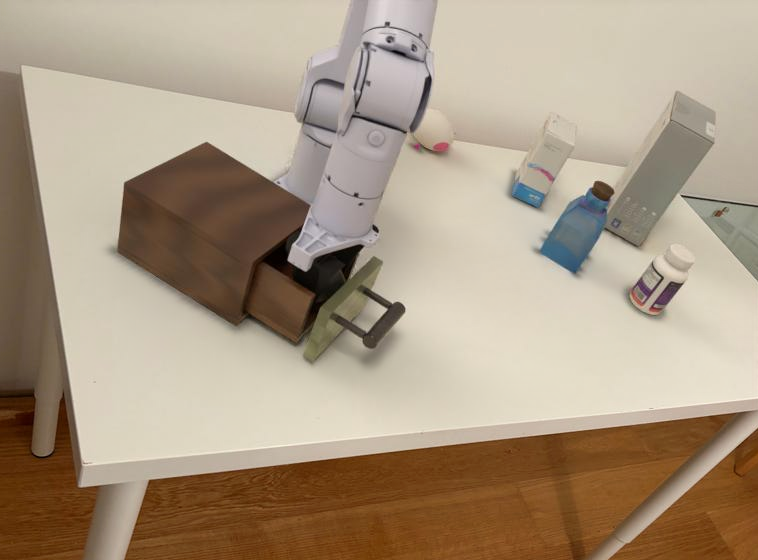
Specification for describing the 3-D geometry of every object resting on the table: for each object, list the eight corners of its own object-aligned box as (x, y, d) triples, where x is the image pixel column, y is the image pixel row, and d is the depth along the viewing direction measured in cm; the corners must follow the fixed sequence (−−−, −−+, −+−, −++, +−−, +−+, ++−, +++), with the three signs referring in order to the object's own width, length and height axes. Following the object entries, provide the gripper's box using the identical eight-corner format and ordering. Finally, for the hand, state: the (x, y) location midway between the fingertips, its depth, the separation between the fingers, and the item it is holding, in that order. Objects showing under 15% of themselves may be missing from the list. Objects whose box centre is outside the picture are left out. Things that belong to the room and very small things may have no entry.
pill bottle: (661, 302, 108) (700, 253, 102) (659, 321, 104) (700, 271, 98) (629, 285, 108) (667, 234, 102) (626, 304, 104) (664, 252, 98)
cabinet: (300, 271, 82) (320, 210, 77) (235, 326, 73) (253, 262, 67) (194, 205, 83) (206, 141, 78) (116, 251, 74) (123, 182, 68)
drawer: (400, 329, 80) (422, 284, 76) (352, 387, 72) (374, 340, 67) (263, 244, 82) (276, 196, 77) (200, 291, 73) (211, 239, 69)
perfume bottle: (585, 256, 109) (628, 191, 101) (575, 274, 104) (619, 207, 97) (550, 234, 110) (590, 168, 102) (538, 251, 105) (579, 183, 97)
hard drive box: (639, 249, 117) (715, 143, 104) (597, 226, 117) (668, 118, 104) (648, 209, 129) (717, 110, 116) (610, 189, 129) (675, 87, 116)
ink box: (539, 209, 114) (576, 145, 106) (510, 196, 113) (546, 130, 105) (543, 185, 120) (578, 122, 112) (516, 172, 120) (549, 108, 112)
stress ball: (441, 173, 117) (469, 141, 116) (428, 157, 109) (457, 123, 108) (409, 145, 118) (436, 113, 118) (393, 127, 111) (422, 93, 110)
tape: (316, 284, 77) (305, 259, 76) (354, 278, 75) (344, 252, 74) (294, 306, 73) (283, 279, 72) (334, 300, 71) (323, 272, 70)
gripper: (355, 234, 60) (313, 345, 69) (423, 175, 71) (379, 277, 80) (283, 191, 60) (251, 306, 69) (362, 138, 71) (326, 244, 80)
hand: (316, 288), depth 74 cm, fingers closed on tape, 5 cm apart
